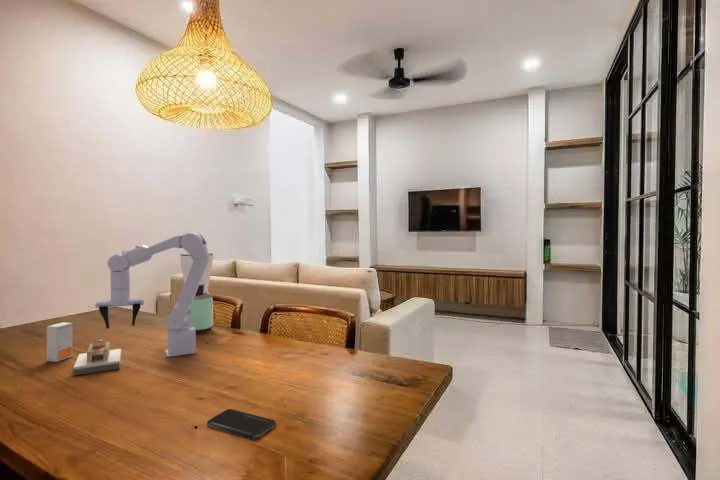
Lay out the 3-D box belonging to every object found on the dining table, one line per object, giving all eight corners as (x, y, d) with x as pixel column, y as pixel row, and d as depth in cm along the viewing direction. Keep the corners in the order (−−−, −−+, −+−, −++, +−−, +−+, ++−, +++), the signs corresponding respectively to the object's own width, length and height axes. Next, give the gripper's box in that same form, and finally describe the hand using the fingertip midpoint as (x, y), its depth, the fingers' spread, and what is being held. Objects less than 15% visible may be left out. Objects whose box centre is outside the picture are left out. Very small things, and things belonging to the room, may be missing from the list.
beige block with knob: (109, 351, 134) (109, 341, 134) (107, 360, 125) (107, 349, 125) (90, 354, 131) (90, 344, 131) (87, 363, 123) (86, 352, 123)
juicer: (176, 329, 173) (175, 250, 172) (207, 324, 181) (207, 250, 180) (186, 339, 158) (186, 253, 157) (220, 334, 166) (220, 252, 165)
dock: (121, 355, 138) (120, 348, 138) (119, 369, 125) (119, 361, 125) (79, 361, 132) (79, 353, 132) (73, 376, 119) (73, 368, 119)
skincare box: (56, 362, 130) (56, 327, 130) (46, 361, 131) (45, 326, 131) (73, 356, 136) (73, 322, 136) (63, 355, 137) (63, 321, 137)
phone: (256, 437, 84) (204, 422, 90) (256, 442, 84) (204, 426, 90) (278, 421, 91) (229, 407, 98) (278, 425, 91) (229, 412, 98)
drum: (105, 344, 131) (105, 338, 131) (105, 347, 128) (104, 341, 127) (92, 346, 129) (92, 339, 129) (91, 349, 126) (91, 342, 126)
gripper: (94, 291, 130) (94, 331, 130) (144, 288, 137) (144, 326, 137) (96, 288, 136) (96, 327, 136) (143, 285, 143) (144, 322, 143)
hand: (120, 326), depth 137 cm, fingers open, 7 cm apart
